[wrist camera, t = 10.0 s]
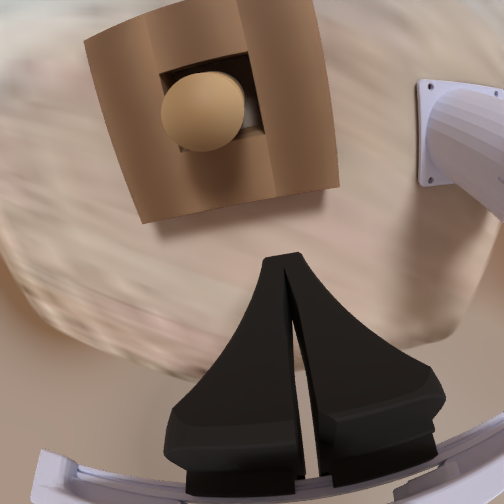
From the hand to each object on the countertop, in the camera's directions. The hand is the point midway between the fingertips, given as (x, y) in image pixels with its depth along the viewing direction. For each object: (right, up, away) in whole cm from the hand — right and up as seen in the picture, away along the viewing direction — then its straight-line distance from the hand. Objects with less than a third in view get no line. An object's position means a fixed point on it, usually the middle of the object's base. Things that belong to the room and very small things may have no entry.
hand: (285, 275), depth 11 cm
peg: (-3, +10, +5) cm, 12 cm away
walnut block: (-3, +10, +5) cm, 12 cm away
